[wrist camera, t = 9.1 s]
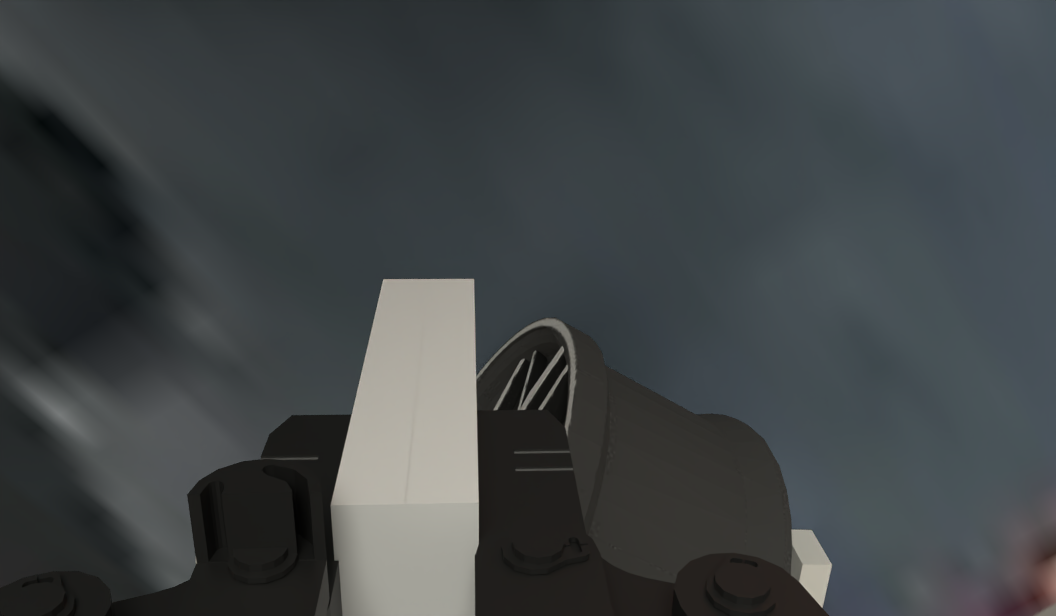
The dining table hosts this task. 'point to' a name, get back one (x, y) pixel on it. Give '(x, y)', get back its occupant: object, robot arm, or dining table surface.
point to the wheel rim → (644, 458)
